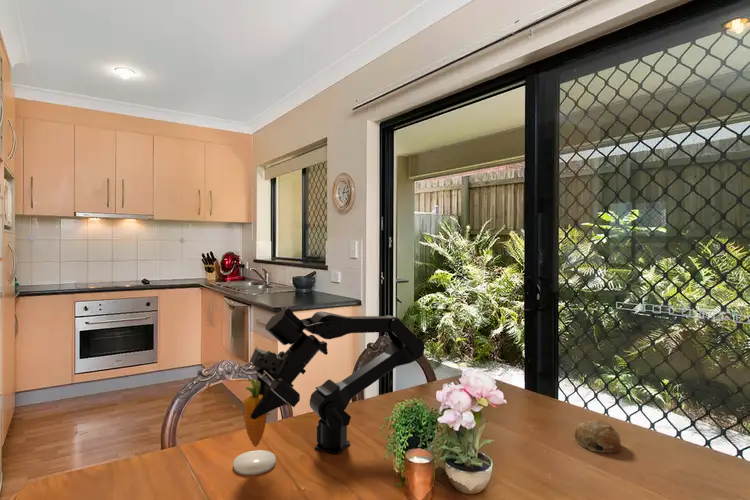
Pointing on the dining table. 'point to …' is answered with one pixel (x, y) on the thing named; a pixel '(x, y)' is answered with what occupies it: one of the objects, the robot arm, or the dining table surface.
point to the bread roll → (597, 436)
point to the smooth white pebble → (254, 462)
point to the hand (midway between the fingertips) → (249, 413)
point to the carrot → (252, 425)
